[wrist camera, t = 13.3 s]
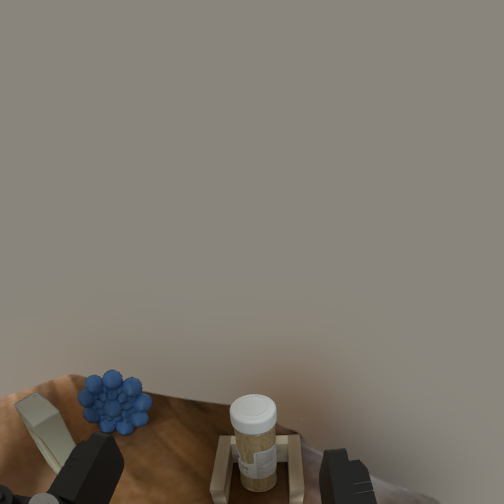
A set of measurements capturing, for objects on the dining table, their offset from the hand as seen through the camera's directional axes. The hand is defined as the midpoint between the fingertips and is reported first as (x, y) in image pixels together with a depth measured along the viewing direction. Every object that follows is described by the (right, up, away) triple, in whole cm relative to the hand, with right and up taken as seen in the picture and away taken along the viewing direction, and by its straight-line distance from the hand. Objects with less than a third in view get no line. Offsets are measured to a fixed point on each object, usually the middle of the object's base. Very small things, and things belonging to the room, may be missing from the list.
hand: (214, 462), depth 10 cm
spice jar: (+2, -20, +21) cm, 30 cm away
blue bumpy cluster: (-18, -20, +30) cm, 40 cm away
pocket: (+2, -20, +21) cm, 29 cm away
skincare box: (-23, -22, +19) cm, 38 cm away
